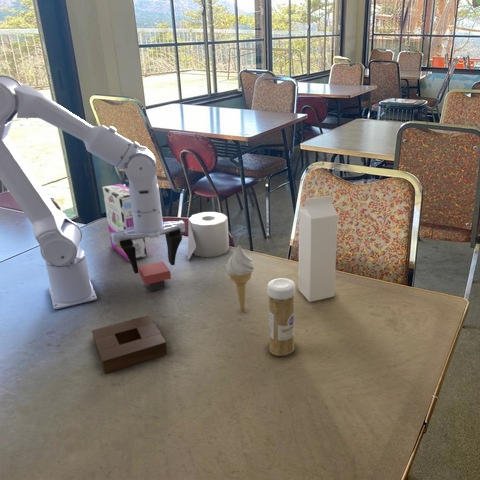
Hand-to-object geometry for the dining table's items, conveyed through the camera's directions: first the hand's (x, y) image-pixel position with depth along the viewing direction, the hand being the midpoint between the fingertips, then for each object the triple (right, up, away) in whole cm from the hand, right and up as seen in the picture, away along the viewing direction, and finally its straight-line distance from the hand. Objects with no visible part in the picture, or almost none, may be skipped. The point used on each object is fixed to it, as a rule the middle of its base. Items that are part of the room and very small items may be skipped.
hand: (154, 267), depth 104 cm
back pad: (0, -4, +2) cm, 5 cm away
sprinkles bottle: (+29, -14, -18) cm, 37 cm away
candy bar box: (-12, +3, +18) cm, 22 cm away
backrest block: (+2, -13, -19) cm, 23 cm away
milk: (+35, -6, +1) cm, 35 cm away
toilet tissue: (+7, +3, +19) cm, 21 cm away
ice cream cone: (+20, -9, -7) cm, 23 cm away
